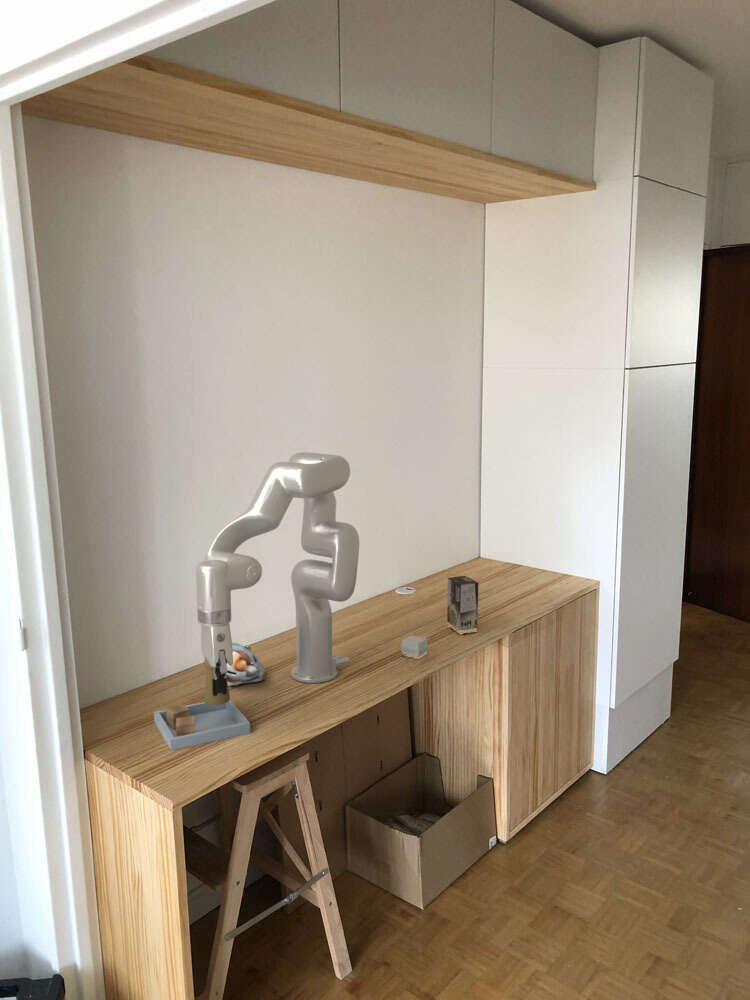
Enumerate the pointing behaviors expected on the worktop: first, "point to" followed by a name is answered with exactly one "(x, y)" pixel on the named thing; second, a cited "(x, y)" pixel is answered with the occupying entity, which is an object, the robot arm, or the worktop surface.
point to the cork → (208, 688)
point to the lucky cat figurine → (244, 666)
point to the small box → (414, 646)
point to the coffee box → (462, 602)
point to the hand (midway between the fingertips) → (216, 690)
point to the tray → (205, 725)
